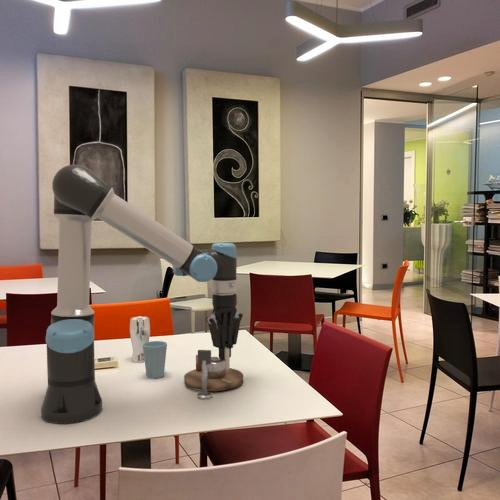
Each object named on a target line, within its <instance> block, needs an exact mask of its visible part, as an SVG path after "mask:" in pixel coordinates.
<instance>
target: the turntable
mask: <svg viewBox="0 0 500 500" xmlns="http://www.w3.org/2000/svg"><path fill="white" fill-rule="evenodd" d="M183 379H184V380H183V383H184V385H185V386H186V387H188V388H190V389H194V390H197V391H198V390H199V391H202V364H199V363H198V354H196V355H195V369H192V370H190V371H187V373H185V374H184V376H183ZM243 383H244V374H243V372H242V371H240V370H238V369H235V368H230V369H227V370H226V376H225V377H223V378H220V379H208V392H216V391H217V392H218V391H225V390H231V389H233V388H237V387H240V385H242V384H243Z"/></svg>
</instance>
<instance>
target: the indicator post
mask: <svg viewBox="0 0 500 500" xmlns="http://www.w3.org/2000/svg"><path fill="white" fill-rule="evenodd" d="M197 355H198V363H199V364H202V390H201V392H198V393H197V394H196V398H197V399H199V400H205V401H206V400H210V399H212V398H213V393H212V392H211V391H208V373H207V364H211V357H212V350H210V349H198V350H197Z"/></svg>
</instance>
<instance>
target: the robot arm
mask: <svg viewBox="0 0 500 500" xmlns="http://www.w3.org/2000/svg"><path fill="white" fill-rule="evenodd" d="M51 184H52V185H51V188H52V191H53V216H54V217H55V218H56V219H57V220H58V223H59V225H58V258H57V259H58V260H57V261H58V263H57V292H56V293H57V296H56V297H57V299H56V300H57V302H56V304H57V305H56V307H55V308H54V309H52V311H51V313H50V314H51V315H50V325H48V327H47V329H46V333H45V334H46V335H45V343H46V344H45V345H46V367H47V368H46V369H47V370H46V371H47V374H46V375H47V387H46V391H45V394H44V397H43V399H42V404H41V408H40V413H41V419H42V420H44V421H45V422H48V423H51V424H52V423H53V424H72V423H73V424H74V423H79V422H83V421H86V420H89V419H92V418H95V417H97V416H98V415H100V413H102V412H103V400H102V398H103V397H101V393H100V390H99V389H98V385H97V383H96V373H95V372H96V371H95V370H96V369H95V368H96V367H95V366H96V365H95V364H96V363H95V335H96V334H95V310H94V309H93V308H92V307H90V286H91V285H90V284H91V283H90V282H91V281H90V280H91V257H92V256H91V255H92V254H91V253H92V252H91V251H92V250H91V249H92V223H93V222H94V220H96V219H99V220H101V221H103V222H104V223H106V224H107V225H108V226H110V227H112V228H113V229H115V230H116V231H118V232H120V233H122V234H123V235H125V236H126V237H128V238H129V239H131V240H132V241H134V242H136V243H137V244H138V245H141V246H142V247H143V248H145V249H146V250H149V251H150V252H151V253H152V254H154V255H156V256H157V257H160V258H161V259H162V260H164V261H166V262H167V263H169V264H170V265H171V266H172V271H173V275H175V276H178V277H185V276H189V277H190V278H192V279H193V280H195V281H196V282H199V283H207V282H210V281H212V282H211V284H212V285H211V292H212V293H213V294H212V298H211V299H212V300H211V301H212V307H213V310H212V312H211V315H210V316H208V317H206V318H205V321H206V322H207V324H208V328H209V333H210V337H211V338H210V339H211V342H212V346H213V347H215V348H218V358H220V359H224V360H225V363H226V370H227V369H230V366H231V365H230V359H231V357H232V349H233V348H234V346H235V345H237V343H238V342H237V341H238V336H239V332H240V326H241V321H242V319H243V316H244V315H243V313H240V312H238V311H237V310H238V309H237V307H236V306H237V304H238V303H237V302H238V301H237V300H238V299H237V298H238V296H237V295H238V294H236V293H237V289H238V287H237V286H238V285H237V284H238V283H237V282H238V280H237V279H238V278H237V269H238V268H237V263H238V262H237V261H238V257H237V255H238V254H237V247H236V245H235V243H232V242H227V243H226V242H219V243H218V242H217V243H213V244H212V245H211V249H208V250H205V249H204V250H200V249H199V248H197V247H195V246H194V245H193V244H191V243H190V242H189V241H187V240H186V239H184V238H183V237H180V236H179V235H178V234H177V233H174V232H173V231H171V230H170V229H169V228H167V227H166V226H164V225H162V224H161V223H160V222H158V221H157V220H155V219H153V218H152V217H150V216H149V215H147V214H146V213H144V212H143V211H141V210H140V209H138V208H136V207H135V206H133V204H131V203H129V202H127V201H126V200H125V199H123V198H122V197H120V196H118V195H117V194H115V192H114V187H112V186H110V185H109V184H107V183H106V182H105V181H103V180H102V179H101V178H100V177H98V175H96V174H95V173H94V172H93V171H92V170H90V168H88V167H86V166H85V165H81V164H68V165H65V166H64V167H62V168H60V169H59V170H58V171H57V172H56V173H55V175H54V176H53V179H52V183H51Z"/></svg>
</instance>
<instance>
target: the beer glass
mask: <svg viewBox="0 0 500 500" xmlns="http://www.w3.org/2000/svg"><path fill="white" fill-rule="evenodd" d="M129 319H130V322H129V336H130V337H129V338H130V343H131V347H132V355H131V362H133V363H145V360H144V352H143V343H146V342H150V337H151V336H150V335H151V325H150V324H151V323H150V317H148V316H133V317H131V318H129Z"/></svg>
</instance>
